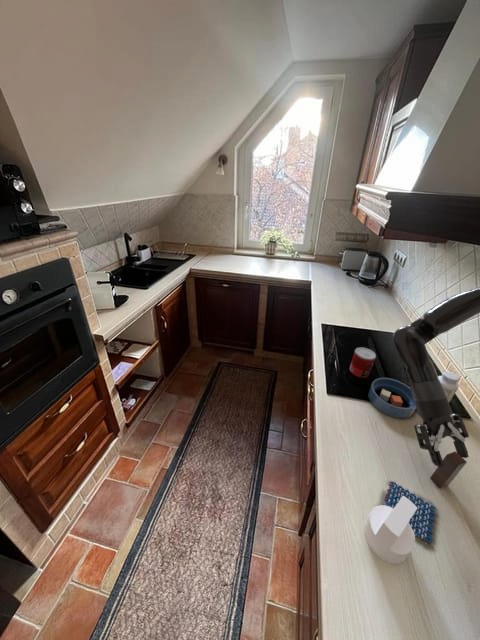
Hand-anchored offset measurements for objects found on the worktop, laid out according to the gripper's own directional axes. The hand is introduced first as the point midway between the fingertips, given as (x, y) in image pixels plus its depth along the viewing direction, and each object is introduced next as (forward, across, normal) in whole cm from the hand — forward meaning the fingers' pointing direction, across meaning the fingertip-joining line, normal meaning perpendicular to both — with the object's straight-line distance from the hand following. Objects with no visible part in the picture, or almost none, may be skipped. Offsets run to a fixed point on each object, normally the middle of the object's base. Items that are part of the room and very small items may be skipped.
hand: (451, 461), depth 65 cm
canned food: (-24, +10, +38) cm, 46 cm away
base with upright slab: (+12, -24, +3) cm, 27 cm away
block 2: (-11, +11, +24) cm, 29 cm away
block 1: (-14, +9, +27) cm, 31 cm away
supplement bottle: (-9, +28, +23) cm, 37 cm away
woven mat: (+10, -14, +5) cm, 18 cm away
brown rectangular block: (+7, 0, +7) cm, 10 cm away
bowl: (-12, +10, +26) cm, 30 cm away
